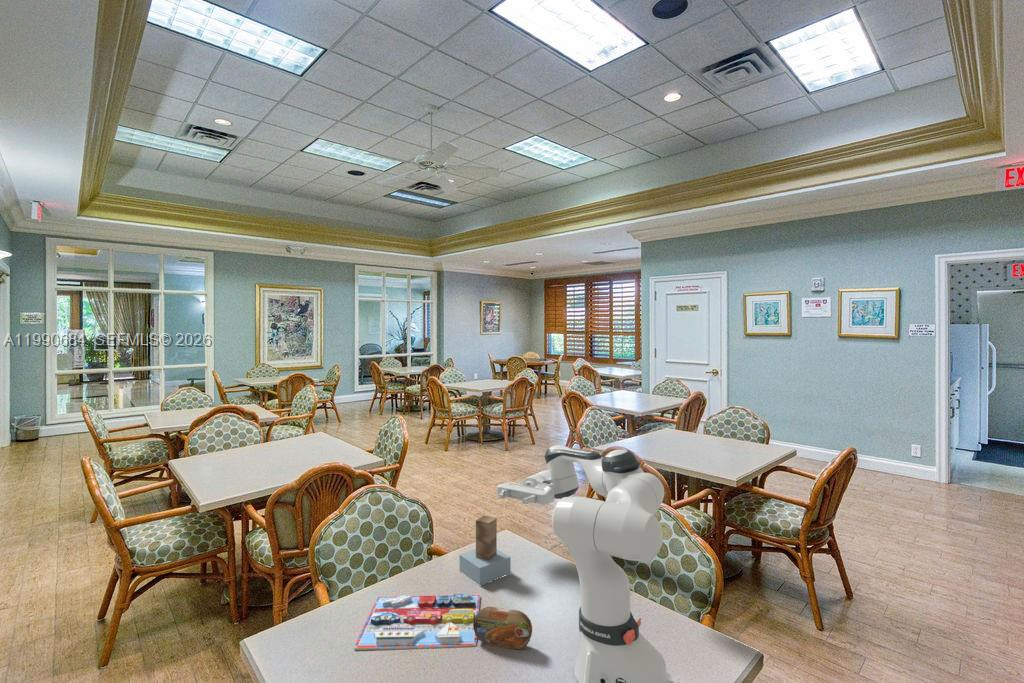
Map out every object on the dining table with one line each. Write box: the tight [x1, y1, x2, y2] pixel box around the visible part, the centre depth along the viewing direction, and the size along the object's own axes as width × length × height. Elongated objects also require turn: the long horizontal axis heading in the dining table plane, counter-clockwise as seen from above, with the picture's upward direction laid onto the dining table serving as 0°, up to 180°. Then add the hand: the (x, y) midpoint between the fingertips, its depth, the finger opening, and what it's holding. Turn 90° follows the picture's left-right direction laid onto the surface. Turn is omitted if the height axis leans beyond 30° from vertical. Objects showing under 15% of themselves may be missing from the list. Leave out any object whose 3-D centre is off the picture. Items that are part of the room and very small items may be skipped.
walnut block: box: [475, 515, 498, 560], centre depth 155 cm, size 5×5×12 cm
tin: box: [473, 606, 533, 650], centre depth 119 cm, size 15×3×8 cm, turn 73°
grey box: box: [459, 548, 512, 586], centre depth 155 cm, size 12×12×6 cm
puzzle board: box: [353, 593, 481, 651], centre depth 129 cm, size 30×23×3 cm
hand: (512, 499), depth 159 cm, fingers open, 8 cm apart
